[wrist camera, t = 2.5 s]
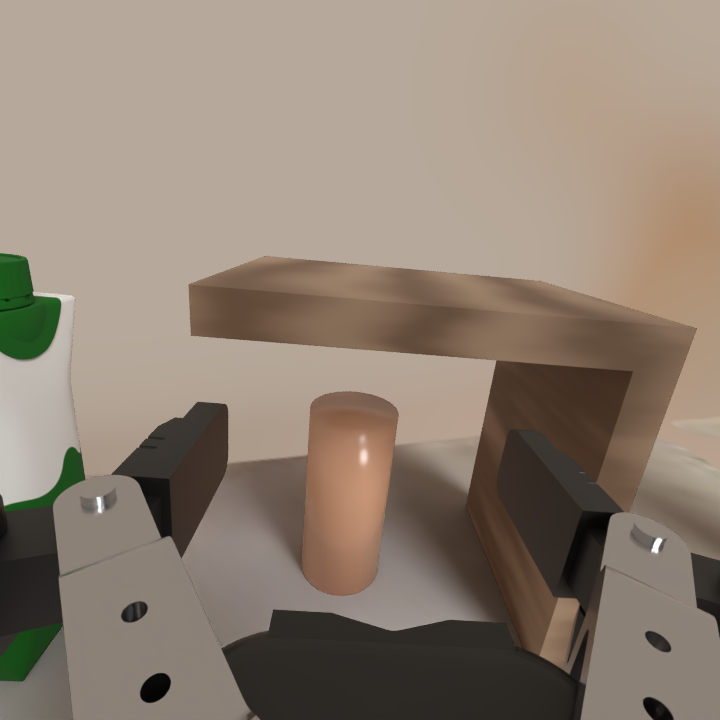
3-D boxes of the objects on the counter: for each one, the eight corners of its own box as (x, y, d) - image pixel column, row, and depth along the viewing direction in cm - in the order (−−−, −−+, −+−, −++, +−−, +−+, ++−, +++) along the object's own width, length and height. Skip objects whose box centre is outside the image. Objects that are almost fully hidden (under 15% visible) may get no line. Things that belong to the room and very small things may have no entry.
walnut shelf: (488, 507, 36) (540, 281, 29) (568, 674, 22) (696, 328, 16) (261, 492, 35) (265, 256, 28) (205, 659, 21) (188, 284, 15)
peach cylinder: (375, 536, 31) (393, 394, 27) (380, 597, 26) (403, 434, 22) (306, 532, 31) (314, 388, 27) (296, 593, 26) (305, 427, 22)
